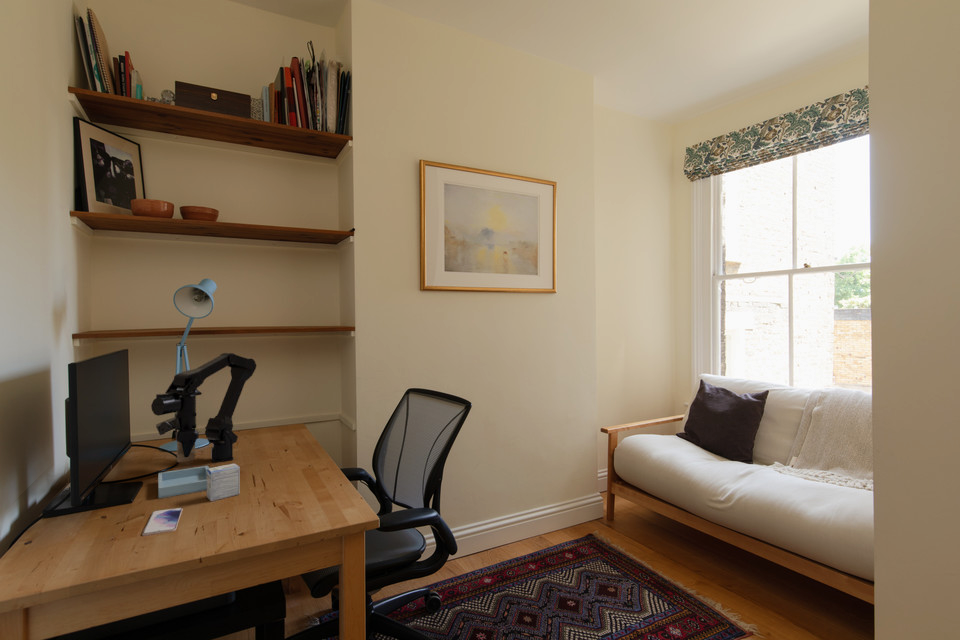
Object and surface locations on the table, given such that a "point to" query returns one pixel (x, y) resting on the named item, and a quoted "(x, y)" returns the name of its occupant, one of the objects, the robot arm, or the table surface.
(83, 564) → the table surface
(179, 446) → the walnut block
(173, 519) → the smartphone
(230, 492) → the medicine box
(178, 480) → the tray
